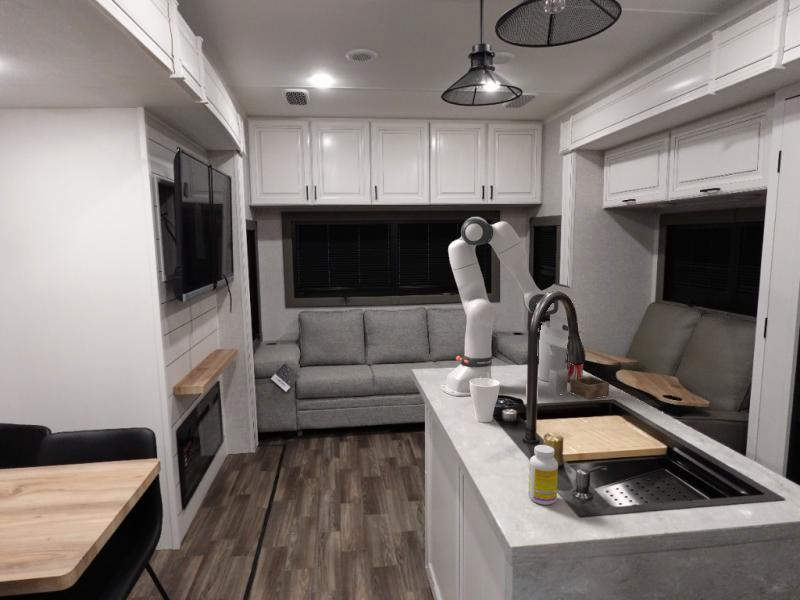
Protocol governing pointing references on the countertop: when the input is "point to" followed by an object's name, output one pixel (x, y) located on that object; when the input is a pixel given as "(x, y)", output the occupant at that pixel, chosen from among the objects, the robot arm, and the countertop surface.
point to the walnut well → (589, 387)
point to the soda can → (574, 371)
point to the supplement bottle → (543, 475)
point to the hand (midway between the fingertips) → (560, 357)
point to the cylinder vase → (550, 358)
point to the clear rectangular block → (558, 381)
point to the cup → (484, 397)
